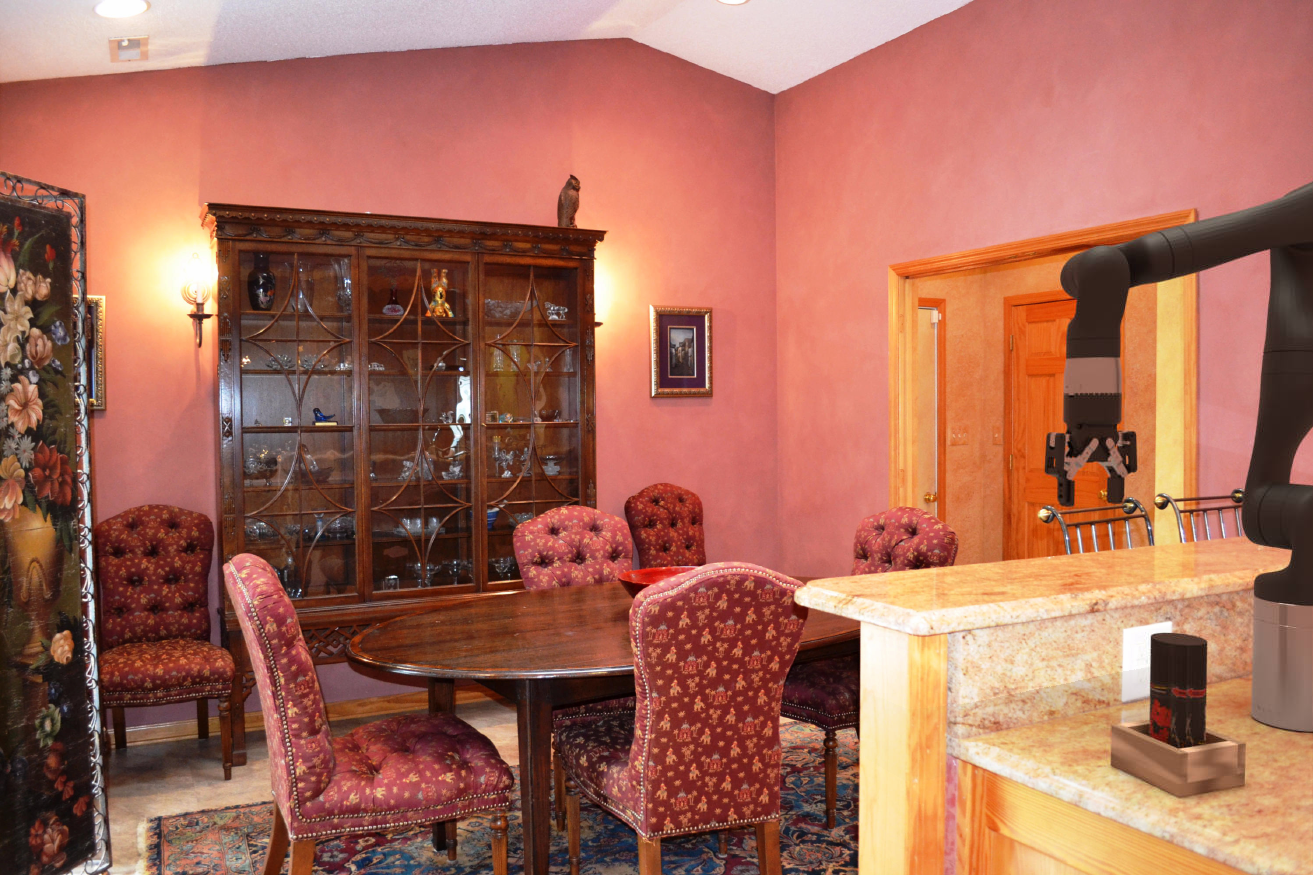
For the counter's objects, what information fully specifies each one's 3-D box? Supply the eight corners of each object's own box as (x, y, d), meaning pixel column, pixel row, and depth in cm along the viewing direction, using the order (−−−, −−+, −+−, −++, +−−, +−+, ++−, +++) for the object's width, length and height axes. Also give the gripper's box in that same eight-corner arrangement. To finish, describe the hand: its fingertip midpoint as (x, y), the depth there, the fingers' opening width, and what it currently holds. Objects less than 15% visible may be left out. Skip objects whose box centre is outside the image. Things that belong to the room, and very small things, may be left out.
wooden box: (1173, 754, 120) (1173, 715, 120) (1244, 784, 110) (1245, 742, 110) (1110, 764, 117) (1111, 724, 116) (1178, 797, 107) (1179, 753, 107)
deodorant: (1213, 773, 110) (1215, 646, 109) (1157, 769, 111) (1159, 643, 111) (1194, 754, 116) (1196, 633, 115) (1142, 751, 117) (1144, 631, 116)
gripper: (1111, 390, 139) (1109, 500, 140) (1032, 391, 135) (1031, 504, 135) (1153, 390, 132) (1151, 505, 133) (1071, 390, 128) (1069, 510, 128)
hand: (1090, 504), depth 134 cm, fingers open, 8 cm apart
